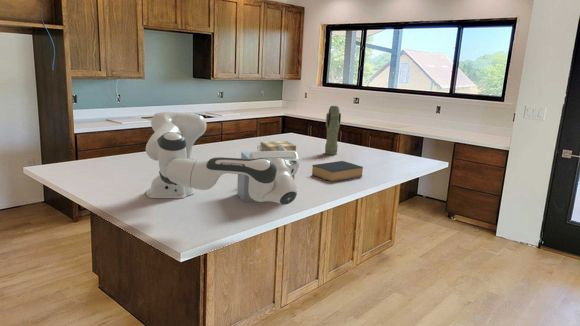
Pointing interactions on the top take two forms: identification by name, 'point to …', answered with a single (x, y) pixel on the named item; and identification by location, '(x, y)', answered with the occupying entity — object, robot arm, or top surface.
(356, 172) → the book
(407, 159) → the top surface
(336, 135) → the olive piece
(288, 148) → the carton
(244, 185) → the grey rectangular block
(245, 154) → the light blue bar
